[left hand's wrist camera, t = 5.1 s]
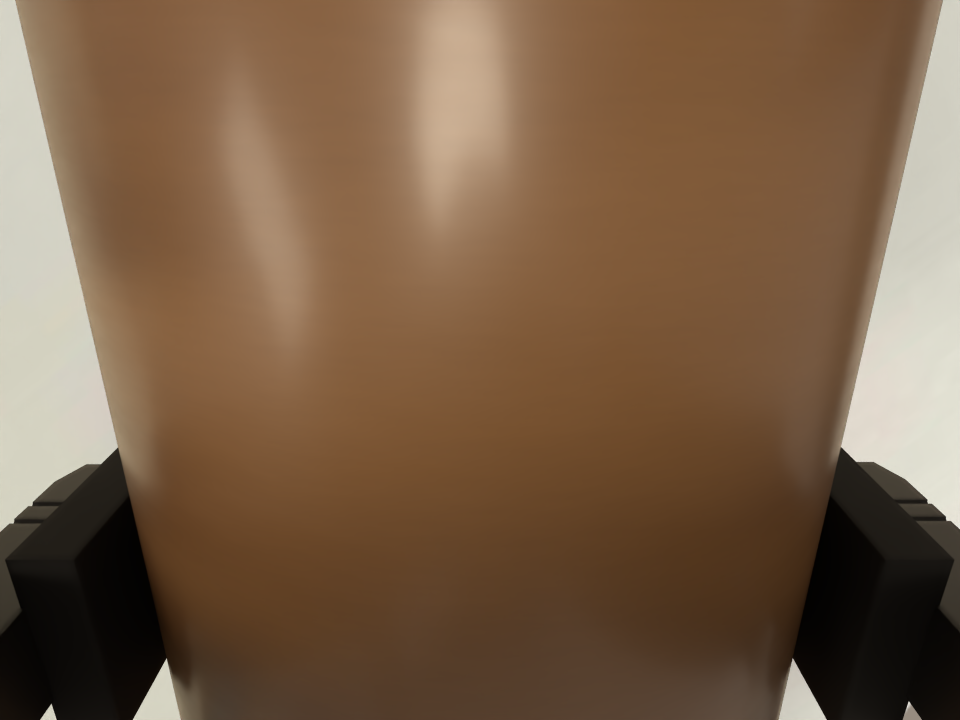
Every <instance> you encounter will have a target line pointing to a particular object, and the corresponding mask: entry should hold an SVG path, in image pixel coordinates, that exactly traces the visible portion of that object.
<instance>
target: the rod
mask: <svg viewBox="0 0 960 720" xmlns="http://www.w3.org/2000/svg"><path fill="white" fill-rule="evenodd" d="M15 1H16V5H17V10H18V14H19V18H20V23H21V27H22V31H23V36H24V40H25V44H26V49H27V53H28V57H29V62H30V66H31V70H32V75H33V79H34V83H35V88H36V92H37V96H38V101H39V105H40V109H41V114H42V118H43V122H44V127H45V131H46V136H47V140H48V144H49V149H50V153H51V157H52V162H53V166H54V170H55V175H56V179H57V183H58V188H59V192H60V196H61V201H62V205H63V209H64V214H65V218H66V222H67V227H68V231H69V235H70V240H71V244H72V248H73V253H74V257H75V262H76V266H77V270H78V275H79V279H80V283H81V288H82V292H83V296H84V301H85V305H86V309H87V314H88V318H89V322H90V327H91V331H92V335H93V340H94V344H95V348H96V353H97V357H98V361H99V366H100V370H101V374H102V379H103V383H104V387H105V392H106V396H107V401H108V405H109V409H110V414H111V418H112V422H113V427H114V431H115V435H116V440H117V444H118V448H119V453H120V457H121V461H122V466H123V470H124V474H125V479H126V483H127V487H128V492H129V496H130V500H131V505H132V509H133V513H134V518H135V522H136V527H137V531H138V535H139V540H140V544H141V548H142V553H143V557H144V561H145V566H146V570H147V574H148V579H149V583H150V587H151V592H152V596H153V600H154V605H155V609H156V613H157V618H158V622H159V626H160V631H161V635H162V639H163V644H164V648H165V653H166V657H167V661H168V666H169V670H170V674H171V679H172V683H173V687H174V692H175V696H176V700H177V705H178V709H179V713H180V718H181V720H778V719H779V715H780V711H781V706H782V702H783V698H784V693H785V689H786V684H787V680H788V676H789V671H790V667H791V663H792V658H793V654H794V649H795V645H796V641H797V636H798V632H799V628H800V623H801V619H802V614H803V610H804V606H805V601H806V597H807V593H808V588H809V584H810V579H811V575H812V571H813V566H814V562H815V558H816V553H817V549H818V544H819V540H820V536H821V531H822V527H823V523H824V518H825V514H826V509H827V505H828V501H829V496H830V492H831V488H832V483H833V479H834V474H835V470H836V466H837V461H838V457H839V453H840V448H841V444H842V439H843V435H844V431H845V426H846V422H847V418H848V413H849V409H850V404H851V400H852V396H853V391H854V387H855V383H856V378H857V374H858V369H859V365H860V361H861V356H862V352H863V348H864V343H865V339H866V334H867V330H868V326H869V321H870V317H871V313H872V308H873V304H874V299H875V295H876V291H877V286H878V282H879V278H880V273H881V269H882V264H883V260H884V256H885V251H886V247H887V243H888V238H889V234H890V229H891V225H892V221H893V216H894V212H895V208H896V203H897V199H898V194H899V190H900V186H901V181H902V177H903V173H904V168H905V164H906V159H907V155H908V151H909V146H910V142H911V138H912V133H913V129H914V124H915V120H916V116H917V111H918V107H919V103H920V98H921V94H922V89H923V85H924V81H925V76H926V72H927V68H928V63H929V59H930V54H931V50H932V46H933V41H934V37H935V32H936V28H937V24H938V19H939V15H940V11H941V6H942V2H943V0H15Z"/></svg>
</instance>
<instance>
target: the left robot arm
mask: <svg viewBox="0 0 960 720" xmlns="http://www.w3.org/2000/svg"><path fill="white" fill-rule="evenodd" d="M166 658H167V657H166V653H165V648H164V644H163V639H162V635H161V631H160V626H159V622H158V618H157V613H156V609H155V605H154V600H153V596H152V592H151V587H150V583H149V579H148V574H147V570H146V566H145V561H144V557H143V553H142V548H141V544H140V540H139V535H138V531H137V527H136V522H135V518H134V513H133V509H132V505H131V500H130V496H129V492H128V487H127V483H126V479H125V474H124V470H123V466H122V461H121V457H120V453H119V448H117V449H116V450H115V451H114V452H113V453H112V454H111V455H110V456H109V457H108V458H107V459H106V460H105V461H104V462H103V463H102V464H86V465H85V466H83V467H81V468H79V469H77V470H75V471H74V472H72V473H70V474H68V475H66V476H64V477H63V478H61V479H59V480H57V481H55V482H54V483H53V484H52V485H51V486H50V487H49V488H48V489H46V490H45V491H44V492H43V493H42V494H41V495H40V496H39V497H38V498H37V499H36V500H35V501H34V502H33V505H32V506H28V507H27V508H26V509H25V510H24V511H23V512H22V513H21V514H19V515H18V516H17V517H16V518H15V519H14V524H9V525H8V526H6V527H5V528H4V529H3V530H2V531H1V532H0V720H40V719H41V718H42V716H43V715H44V713H45V712H46V710H47V709H48V708H49V706H50V705H51V703H52V706H53V709H54V713H55V716H56V719H57V720H133V718H134V716H135V715H136V713H137V711H138V709H139V707H140V705H141V704H142V702H143V700H144V698H145V696H146V695H147V693H148V691H149V689H150V687H151V685H152V684H153V682H154V680H155V678H156V676H157V675H158V673H159V671H160V669H161V667H162V666H163V664H164V662H165V660H166ZM793 659H794V661H795V663H796V665H797V666H798V668H799V670H800V672H801V674H802V675H803V677H804V679H805V681H806V683H807V684H808V686H809V688H810V690H811V692H812V694H813V695H814V697H815V699H816V701H817V703H818V704H819V706H820V708H821V710H822V712H823V714H824V715H825V717H826V719H827V720H903V717H904V714H905V711H906V708H907V705H908V702H910V703H911V705H912V706H913V708H914V709H915V710H916V712H917V713H918V715H919V716H920V717H921V719H922V720H960V529H959V528H958V527H957V526H956V525H954V524H953V523H952V522H951V521H946V516H945V515H944V514H942V513H941V512H940V511H939V510H938V509H937V508H936V507H935V506H934V505H933V504H928V502H927V499H926V498H925V497H924V496H923V495H922V494H921V493H920V492H918V491H917V490H916V489H915V488H914V487H913V486H912V485H911V484H910V483H909V482H908V481H906V480H905V479H904V478H902V477H900V476H898V475H896V474H894V473H893V472H891V471H889V470H887V469H885V468H883V467H882V466H880V465H878V464H876V463H874V462H856V461H855V460H854V459H852V458H851V457H850V456H849V455H848V454H847V453H846V452H845V451H844V450H843V449H842V448H840V453H839V457H838V461H837V466H836V470H835V474H834V479H833V483H832V488H831V492H830V496H829V501H828V505H827V509H826V514H825V518H824V523H823V527H822V531H821V536H820V540H819V544H818V549H817V553H816V558H815V562H814V566H813V571H812V575H811V579H810V584H809V588H808V593H807V597H806V601H805V606H804V610H803V614H802V619H801V623H800V628H799V632H798V636H797V641H796V645H795V649H794V654H793Z"/></svg>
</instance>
